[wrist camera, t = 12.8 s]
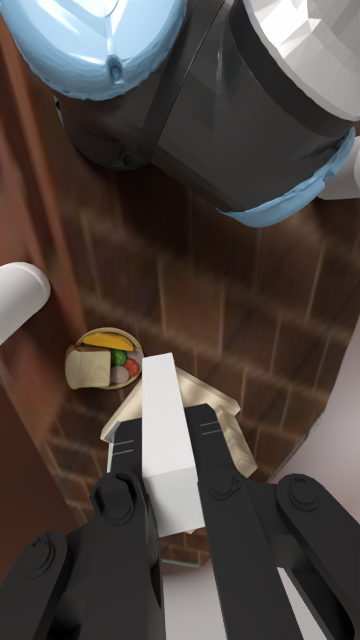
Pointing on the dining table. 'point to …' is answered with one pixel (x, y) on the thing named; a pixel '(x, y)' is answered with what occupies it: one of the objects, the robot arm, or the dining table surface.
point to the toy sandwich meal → (103, 359)
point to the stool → (193, 395)
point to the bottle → (20, 295)
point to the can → (345, 178)
